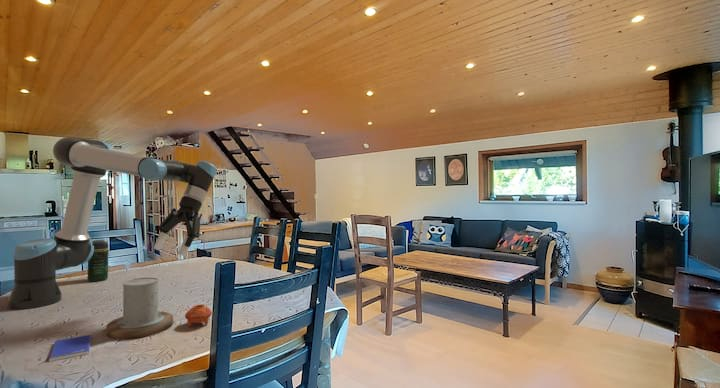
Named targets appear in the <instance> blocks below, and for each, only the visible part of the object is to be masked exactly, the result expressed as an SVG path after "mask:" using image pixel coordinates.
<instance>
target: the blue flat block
mask: <svg viewBox="0 0 720 388" xmlns="http://www.w3.org/2000/svg"><path fill="white" fill-rule="evenodd" d="M91 341H92V335H91V334H86V335H81V336H75V337H71V338H70V337H69V338H63V339H59V340H55V341H54V344H53V347H52V349H51V353H50V356H49V360H48V362H49V363H51V362H53V361H59V360H63V359H65V360H66V359H70V358H74V357H79V356H85V355H90V351H91V343H92V342H91Z"/></svg>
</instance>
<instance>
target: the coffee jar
mask: <svg viewBox="0 0 720 388" xmlns="http://www.w3.org/2000/svg"><path fill="white" fill-rule="evenodd" d="M92 243H93V244H92V245H93V246H94V252H93V255H92V257H91V258H90V259H89V260H88V261H87V281H88V282H101V281H104V280H105V281H106V280H107V279H108V277H109V243H108V241H105V240H103V239H101V240H100V239H97V240H93V241H92Z"/></svg>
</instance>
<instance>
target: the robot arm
mask: <svg viewBox="0 0 720 388" xmlns="http://www.w3.org/2000/svg"><path fill="white" fill-rule="evenodd" d="M52 153H53V156H54V158H55V159H56V161H58V162H59V164H61V165H64V166H66V167H70V170H71V171H72V173H73V179H72V182H71V183H72V184H71V188H70V190H69V195H68V199H67V203H66V204H67V205H66V207H65V213H64V217H63V220H62V225H61V230H58V231H57V232H56V233H55V234H54V238H39V239H30V240H27V241H23V242H21V243H18V244H17V245H15V248H14V253H13V259H14V260H13V264H14V267H13V268H14V269H13V270H14V273H13V277H14V278H13V279H14V280H13V281H14V283H13V287H12V290H11V292H10V294H9V297H8V298H7V308H9V309H11V310H12V309H14V310H17V309H18V310H22V309H33V308H38V307H43V306H45V307H46V306H48V305H52V304H54V303H55V304H56V303H58V302H60V301H61V300H62V292H61V289H60V287H59V285H58V282H57V280H56V279H57V278H56V275H57V274H56V271H59V270H64V269H67V268H73V267H74V268H75V267H78V266H80V265H81V266H82V265H83V264H86V263H88V260H89V259H90V258H91V257H92V255H93V252H94V246H93V245H92V244H93V243H92V242H93V241H92V240H91V236H90V234H89V233H88V229H89V225H90V222H91V217H92V213H93V210H94V206H95V200H96V195H97V193H98V189H99V184H100V180H101V178H103V177H105V176H106V174H107V171H110V172H116V173H122V174H125V175H126V174H127V175H130V176H135V177H142V178H143V179H146V180H149V181H165V182H166V181H167V182H168V181H171V182H173V181H174V182H181V183H185V184H187V186H186V187H185V189H184V192H183V196H182V197H181V199H180V201H179V203H178V206H179V209H177V208H175V207H173V208H172V210H171V212H170V213H169V214H168V215H167V216H166V218H165V219H164V220H163V221H162V222H161V223H160V224H159V226H158V227H157V228H156V229H157V230H158V231H159V233H158V235H157V239H156V241H155V244H154V246H153V247H152V249H153V250H156V251H159V252H161V251H162V248H163V246H164V244H165V243H166V242H165V241H166V240H167V238H168V235H169V232H171V230H172V229H173V228H175V227H176V226H177V225H179V224H181V223H185V227H186V232H187V233H186V235H185V236H184V239H183V241H182V242H181V246H180V247H179V250H178V252H177V255H180V256H183V257H186V255H187V252H188V251H189V248H190V247H191V245H192V243H193V241H194V240H195V239H199V238H200V235H201V233H200V232H201V218H202V217H203V213H201V212H199V211H200V210H201V208H202V205H203V202H204V200H205V198H206V196H207V193H208V191H209V189H210V187H211V185H212V182H213V181H214V179H215V176H216V174H217V167H216V166H215V165H214V163H211V162H209V161H205V160H199V161H198V162H197V163H196V165H195V164H190V163H186V162H182V161H178V160H174V159H168V160H164V159H158V158H154V157H147V156H145V155H144V156H143V155H138V154H133V153H129V152H123V151H119V150H115V149H114V148H113V146H112V145H110V144H109V143H107V142H106V141H101V140H99V139H92V138H83V137H79V136H78V137H77V136H65V137H62V138H60V139H59V140H58V141H56V142H55V144H54V145H53V149H52Z"/></svg>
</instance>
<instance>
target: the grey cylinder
mask: <svg viewBox="0 0 720 388" xmlns="http://www.w3.org/2000/svg"><path fill="white" fill-rule="evenodd" d="M122 285H123V288H122V290H123V291H122V293H123V294H122V295H123V297H122V308H123V309H122V317H123V324H125V325H129V326H135V325H143V324H147V323H151V322H153V321H155V320H157V319H158V311H159V304H158V303H159V301H158V300H159V279H158V278H156V277H137V278H133V279H132V278H131V279H128V280H125V281H124V282H123V283H122Z"/></svg>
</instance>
